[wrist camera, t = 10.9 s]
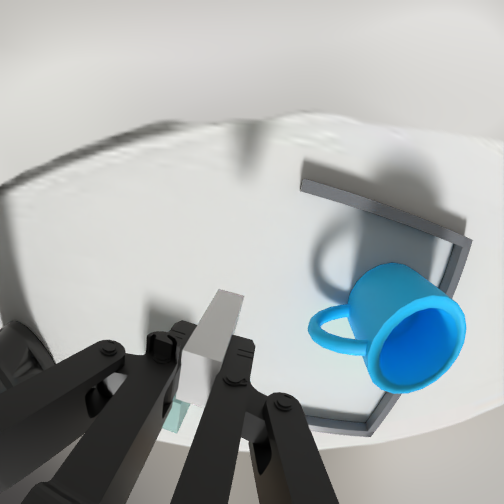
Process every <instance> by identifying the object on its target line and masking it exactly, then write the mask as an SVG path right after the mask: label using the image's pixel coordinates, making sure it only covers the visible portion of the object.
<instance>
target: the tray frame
mask: <svg viewBox="0 0 504 504" xmlns="http://www.w3.org/2000/svg"><path fill="white" fill-rule="evenodd" d="M300 191H302V192H305V193H309V194H312V195H316V196H319V197H323V198H326V199H329V200H333V201H336V202H339V203H342V204H346V205H349V206H352V207H355V208H358V209H361V210H364V211H367V212H370V213H373V214H376V215H379V216H382V217H385V218H388V219H391V220H394V221H396V222H399V223H402V224H405V225H408V226H410V227H413V228H416V229H418V230H421V231H424V232H426V233H429V234H431V235H434V236H436V237H439V238H441V239H444V240H446V241H449V242H451V243H454V244H455V245H454V248H453V251H452V254H451V257H450V260H449V263H448V266H447V269H446V272H445V274H444V277H443V280H442V282H441V285H440V288H439V289H440V290H441V291H442V292H444V293H445V294H446V295H447V296H449V297H450V298H451V299H452V297H453V295H454V292H455V290H456V287H457V285H458V282H459V280H460V277H461V274H462V271H463V269H464V266H465V263H466V260H467V257H468V254H469V250H470V247H471V244H472V239H469V238H467V237H465V236H463V235H460V234H458V233H456V232H454V231H451V230H449V229H447V228H444V227H442V226H440V225H437V224H435V223H432V222H430V221H427V220H425V219H422V218H420V217H417V216H415V215H412V214H410V213H407V212H404V211H402V210H399V209H396V208H393V207H391V206H388V205H385V204H382V203H379V202H377V201H374V200H371V199H368V198H365V197H362V196H359V195H356V194H353V193H350V192H347V191H343V190H340V189H337V188H334V187H331V186H327V185H324V184H321V183H317V182H314V181H310V180H307V179H303V181H302V185H301V189H300ZM401 394H402V393H400V394H393V393H390V392H386V394H385V395H384V397H383V398H382V400H381V401H380V403H379V404H378V406H377V407H376V409H375V410H374V412H373V413H372V415H371V416H370V417H369V419H368V420H367V422H366V423H358V422H348V421H339V420H331V419H324V418H318V417H311V416H305V418H306V420H307V423H308V425H309V428H310V431H315V432H322V433H330V434H339V435H350V436H363V437H371V436H372V434H373V433H374V432H375V431H376V429H377V428H378V427H379V425H380V424H381V423H382V421H383V420H384V419H385V417H386V416H387V415H388V413H389V412H390V410H391V409H392V407H393V406H394V405H395V403H396V402H397V400H398V399H399V397H400V396H401Z"/></svg>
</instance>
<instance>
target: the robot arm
mask: <svg viewBox="0 0 504 504" xmlns="http://www.w3.org/2000/svg"><path fill="white" fill-rule="evenodd" d="M243 299H244V296H242V295H239V294H235V293H232V292H228V291H224V290H221V289H219V290H218V291H217V293H216V295H215V296H214V298H213V300H212V301H211V303H210V305H209V306H208V308H207V310H206V311H205V313H204V315H203V316H202V318H201V320H200V321H199V323H198V325H195V324H192V323H189V322H186V321H183V320H182V321H180V322H178V323H175V324H174V326H173V327H172V328H171V330H170V331H169V332H168V333H167V332H153V333H150V334H149V335H147V346H146V353H145V354H144V355H133V354H127V353H125V349H124V347H123V346H122V345H121V344H120V343H118V342H116V341H112V340H102V341H99V342H97V343H95V344H93V345H91V346H89V347H87V348H85V349H84V350H82V351H80V352H78V353H76V354H74V355H72V356H70V357H69V358H67V359H65V360H63V361H61V362H59V363H57V364H54V362H53V360H52V358H51V357H50V355H49V353H48V352H47V350H46V349H45V347H44V346H43V345H42V343H41V342H40V341H39V340H38V338H37V337H36V336H35V335H34V334H33V333H32V332H31V331H30V330H29V329H28V328H27V327H26V326H24V325H23V324H21V323H19V322H17V321H12V322H10V323H8V324H6V325H5V326H3V327H2V328H1V329H0V493H1V492H3V491H5V490H7V489H8V488H10V487H11V486H13V485H14V484H16V483H17V482H19V481H20V480H21V479H23V478H24V477H26V476H27V475H29V474H30V473H31V472H33V471H34V470H36V469H37V468H38V467H40V466H41V465H43V464H44V463H45V462H47V461H48V460H50V459H51V458H52V457H53V456H55V455H56V454H58V453H59V452H60V451H62V450H63V449H64V448H66V447H67V446H68V445H70V444H71V443H72V442H74V441H75V440H76V439H78V438H79V437H80V436H82V435H83V434H84V433H85V434H84V435H83V436H82V438H81V439H80V441H79V442H78V443H77V445H76V446H75V448H74V449H73V450H72V452H71V453H70V454H69V456H68V457H67V458H66V460H65V462H64V463H63V464H62V465H61V467H60V468H59V470H58V471H57V472H56V474H55V475H54V477H53V478H52V479H51V480H50V481H48V482H40V483H38V484H36V485H35V486H34V487H33V488H32V489H31V490H30V492H29V493H28V495H27V496H26V497H25V499H24V500H23V501H22V503H21V504H126V502H127V500H128V497H129V495H130V493H131V491H132V489H133V487H134V485H135V483H136V481H137V478H138V477H139V474H140V472H141V470H142V468H143V466H144V464H145V462H146V460H147V458H148V456H149V453H150V452H151V449H152V447H153V445H154V443H155V441H156V439H157V437H158V435H159V433H160V431H161V429H162V427H163V425H164V422H165V420H166V418H167V416H168V414H169V412H170V410H171V408H172V404H173V398H174V396H175V394H176V399H178V400H181V401H184V402H187V403H190V404H193V405H196V406H199V407H203V408H204V411H203V414H202V417H201V420H200V422H199V425H198V428H197V431H196V434H195V436H194V439H193V442H192V445H191V448H190V450H189V453H188V456H187V459H186V461H185V464H184V467H183V470H182V472H181V475H180V478H179V481H178V483H177V486H176V489H175V492H174V494H173V497H172V500H171V503H170V504H228V500H229V495H230V490H231V485H232V480H233V475H234V470H235V465H236V459H237V455H238V449H239V444H240V439H241V437H242V438H244V439H246V440H248V441H249V449H250V455H251V460H252V466H253V472H254V477H255V482H256V488H257V493H258V498H259V503H260V504H339V502H338V499H337V497H336V495H335V492H334V489H333V487H332V484H331V482H330V479H329V477H328V474H327V472H326V469H325V467H324V464H323V461H322V459H321V456H320V454H319V451H318V449H317V446H316V443H315V441H314V438H313V436H312V433H311V431H310V428H309V425H308V423H307V420H306V418H305V415H304V412H303V410H302V407H301V405H300V403H299V401H298V400H297V399H296V398H294V397H293V396H291V395H289V394H287V393H281V392H278V393H273V394H271V395H269V396H266V395H264V394H262V393H260V392H258V391H257V390H256V389H255V388H254V387H253V386H252V385H251V382H250V374H251V369H252V363H253V357H254V351H255V345H254V343H253V341H252V340H250V339H247V338H243V337H239V336H236V335H234V333H235V329H236V325H237V322H238V318H239V314H240V310H241V306H242V303H243Z"/></svg>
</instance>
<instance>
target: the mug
mask: <svg viewBox="0 0 504 504" xmlns="http://www.w3.org/2000/svg"><path fill="white" fill-rule="evenodd" d="M343 317H348V321H349V324H350V326H351V329H352V331H353V333H354V336H355V339H349V338H342V337H339V336H336V335H333V334H329V333H328V332H326V331H324V330H323V329H321V327H320V326H321V325H323V324H324V323H326V322H328V321H331V320H334V319H339V318H343ZM308 332H309V334H310V336H311V338H312V340H313V341H314V342H316V343H317V344H319V345H320V346H322V347H323V348H326V349H329V350H332V351H334V352H337V353H342V354H349V355H362V357H363V359H364V362H365V365H366V367H367V370H368V372H369V375H370V377H371V379H372V382H373V383H374V384H375V385H377V386H378V387H379V388H380V389H381V390H384V391H387V392H390V393H393V394H400V393H410V392H414V391H417V390H420V389H423V388H425V387H426V386H428V385H430V384H432V383H433V382H435V381H436V380H438V379H439V378H440V377H441V376H442V375H443V374H444V373H445V372H446V371H448V369H449V368H450V367H451V365H452V364H453V363H454V361H455V360H456V359H457V357H458V355H459V353H460V351H461V348H462V346H463V344H464V340H465V334H466V322H465V315H464V313H463V311H462V310H461V308H460V307H459V305H458V304H457V303H456V302H455V301H454V300H453V299H451V298H450V297H449V296H447V295H446V294H445V293H444V292H442V291H441V290H440V289H438V288H437V287H436V286H435V285H433V284H432V283H431V282H429V281H428V280H427V279H425V278H424V277H423V276H421V275H420V274H419V273H417V272H416V271H415V270H413V269H411V268H410V267H408V266H406V265H404V264H398V263H387V264H382V265H378V266H377V267H375V268H373V269H371V270H369V271H367V272H366V273H365V274H364V275H363V276H362V277H361V278H360V279H359V280H358V281H357V282H356V284H355V286H354V288H353V289H352V291H351V293H350V295H349V299H348V304H343V305H338V306H333V307H329V308H327V309H324V310H322V311H319V312H318V313H317V314H315V315H314V316H313V317H312V318H311V319H310V322H309V326H308Z"/></svg>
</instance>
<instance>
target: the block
mask: <svg viewBox="0 0 504 504" xmlns="http://www.w3.org/2000/svg"><path fill="white" fill-rule="evenodd" d="M189 406H190V403H187V402H184V401H181V400H178V399H176V394H175V396H174V398H173V404H172V408H171V410H170V412H169V414H168V416H167V418H166V420H165V422H164V425H163V427H162V428H163V429H166V430H169V431H171V432H174V433H177V432H178V430H179V428H180V426H181V424H182V421H183V419H184V417H185V415H186V413H187V410H188V408H189Z"/></svg>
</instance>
